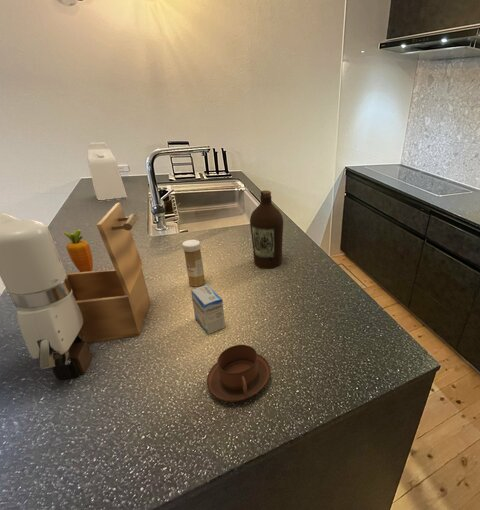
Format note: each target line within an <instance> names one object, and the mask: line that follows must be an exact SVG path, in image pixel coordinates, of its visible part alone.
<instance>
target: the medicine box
mask: <svg viewBox="0 0 480 510" xmlns="http://www.w3.org/2000/svg"><path fill="white" fill-rule="evenodd" d="M190 293H191V294H190V295H191V300H192V306H193V313H194V319H195V320H196V321H197V322H198V324H199V325H200V326H201V328H202V329H203V330H204V331H205V332H206V333H207V335H210V334H212V333H215V332H217V331H220V330H222V329H224V328H226V318H225V311H224V301H223V299H222V297H220V295H219V294H218V293H217V292H216V291H215V290H213V288H212V287H211V286H210V285H209V284H207V285H202V286H198V287H197V288H194V289H191V290H190Z"/></svg>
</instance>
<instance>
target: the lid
mask: <svg viewBox="0 0 480 510" xmlns="http://www.w3.org/2000/svg"><path fill="white" fill-rule="evenodd" d="M138 220H139V216H138V215H137V214H136V213H131V214H130V215H129V216H128V215H127V216H126V215H125V212H124V209H123V207H122V204H121V202H116V203H115V204H114V205H113V206H112V207H111V208H110V209H109V210H108V212H107V213H106V214H105V215H104V216H103V217H102V218H101V219H100V220H99V221H98V222H97V224H96V227H97V230H98V232H99V235H100V238H101V240H102V242H103V244H104V247H105V249H106V252H107V254H108V256H109V258H110V261H111V263H112V266H113V269H115V271H116V273H117V275H118V278H119V280H120V283H121V285H122V287H123V290H124V292H125V295H130V293H131V291H132V289H133V286H134V284H135V282H136V280H137V277H138V275H139V273H140V270H141V268H142V269H143V266H144V264H143V262H142V258H141V255H140V253H139V249H138V248H137V245H136V242H135V240H134V237H133V234H132V231H131V230H132V229H133V227H134V226H135V224H136V223H137V222H138Z"/></svg>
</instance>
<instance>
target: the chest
mask: <svg viewBox="0 0 480 510" xmlns="http://www.w3.org/2000/svg"><path fill="white" fill-rule="evenodd" d="M65 273H66V272H65ZM66 276H67V278H68V281H69V284H70V286H71V289H72V294H73V296H74V298H75V300H76V302H77V304H78V306H79V309H80V311H81V314H82V317H83V325H82V328H81V332H82V334H83V336H84V339H83V340H82V341H84V342H85V341H86V342H87V344H91V343H99V342H103V341H104V342H106V341H111V340H112V341H113V340H118V339H119V340H120V339H125V338H132V337H139V336H140V335H141V331H142V329H143V325H144V323H145V319H146V317H147V313H148V311H149V307H150V304H151V299H150V295H149V292H148V286H147V283H146V280H145V275H144V271H143V267H142V268H141V270H140V273H139V275H138V277H137V280H136V282H135V284H134V286H133V289H132V291H131V293H130V295H125V292H124V290H123V287H122V285H121V283H120V280H119V278H118V275H117V273H116V271H115V268H113V269H103V270H102V269H101V270H92V271H89V272H80V271H79V272H70V273H69V272H68V273H66Z"/></svg>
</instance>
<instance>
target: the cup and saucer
mask: <svg viewBox="0 0 480 510" xmlns="http://www.w3.org/2000/svg"><path fill="white" fill-rule="evenodd" d="M270 376H271V365H270V364H269V362H268V360H267V359H266V358H265V357H264V356H263V355H261V354H258V352H257V350H256V349H255V348H254V347H253V346H250V345H248V344H236V345H232V346H229V347H227V348H226V349H224V350H222V351H221V353H219V356H218V357H217V361H216V362H215V363H214V364H213V366H212V367H211V368H210V369H209V371H208V373H207V376H206V386H207V389H208V391H209V393H210V394H211V395H212V396H213V397H215V398H216V399H218V400H220V401H223V402H230V403H231V402H233V403H235V402H241V401H245V400H248V399H250V398H252V397H254V396H256V395H257V394H259V393H260V392H261V391H262V390H263V389H264V388H265V386H266V385H267V383H268V382H269V379H270Z"/></svg>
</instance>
